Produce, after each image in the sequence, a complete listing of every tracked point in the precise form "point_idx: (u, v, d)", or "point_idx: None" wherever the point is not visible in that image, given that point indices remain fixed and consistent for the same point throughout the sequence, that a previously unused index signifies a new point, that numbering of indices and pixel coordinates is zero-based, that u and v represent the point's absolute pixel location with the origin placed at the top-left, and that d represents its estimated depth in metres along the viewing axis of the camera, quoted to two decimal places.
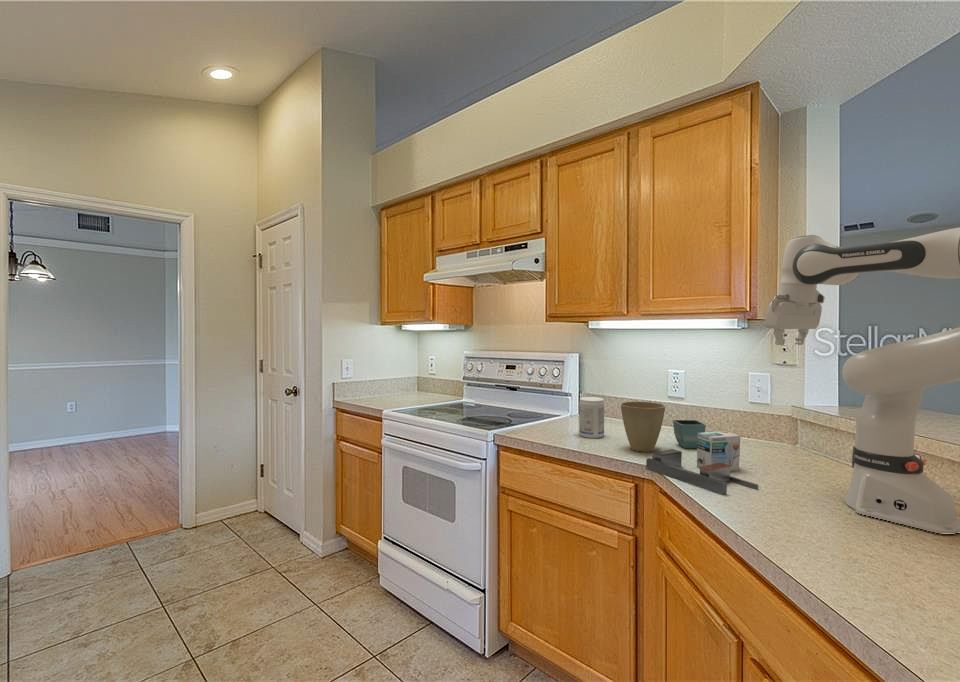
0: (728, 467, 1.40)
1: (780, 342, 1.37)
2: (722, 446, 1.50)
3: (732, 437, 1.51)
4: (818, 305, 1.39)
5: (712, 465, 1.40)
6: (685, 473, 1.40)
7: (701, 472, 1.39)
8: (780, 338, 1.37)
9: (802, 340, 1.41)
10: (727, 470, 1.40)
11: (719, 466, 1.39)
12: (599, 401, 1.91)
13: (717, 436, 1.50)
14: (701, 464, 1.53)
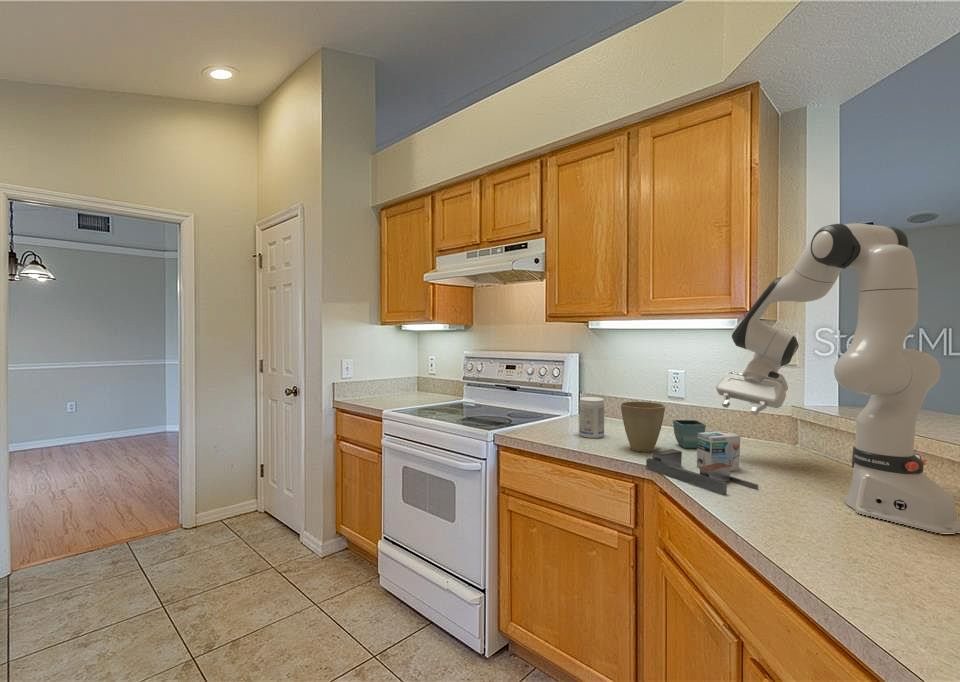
0: (728, 467, 1.40)
1: None
2: (722, 446, 1.50)
3: (732, 437, 1.51)
4: (773, 381, 1.55)
5: (712, 465, 1.40)
6: (685, 473, 1.40)
7: (701, 472, 1.39)
8: (724, 399, 1.63)
9: (754, 408, 1.54)
10: (727, 470, 1.40)
11: (719, 466, 1.39)
12: (599, 401, 1.91)
13: (717, 436, 1.50)
14: (701, 464, 1.53)
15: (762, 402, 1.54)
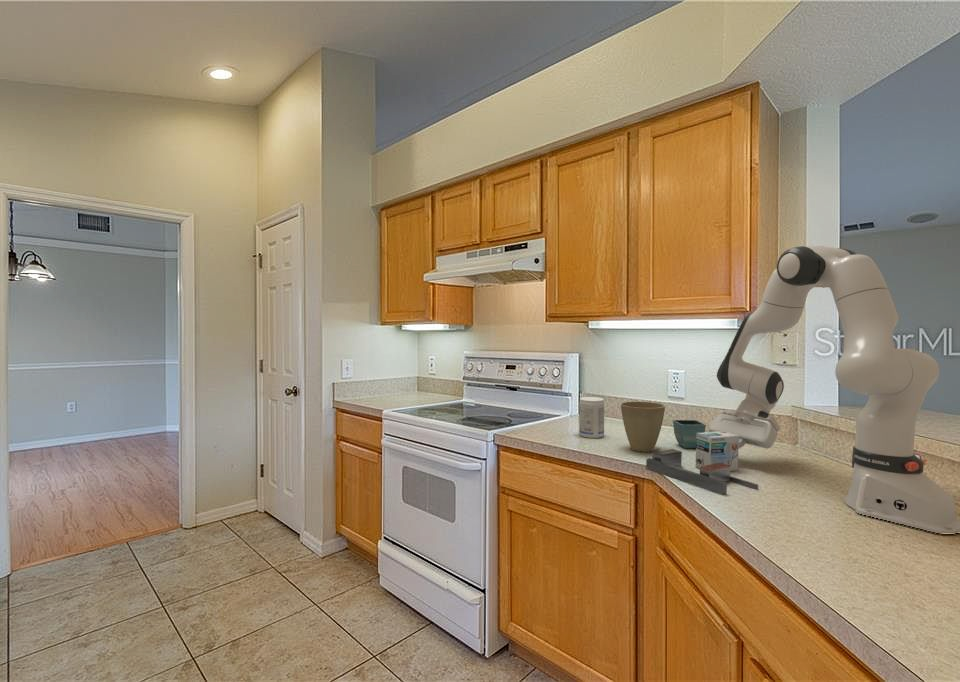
0: (728, 467, 1.40)
1: None
2: (721, 446, 1.49)
3: (731, 437, 1.51)
4: (763, 421, 1.53)
5: (712, 465, 1.40)
6: (685, 473, 1.40)
7: (701, 472, 1.39)
8: None
9: None
10: (727, 470, 1.40)
11: (719, 466, 1.39)
12: (599, 401, 1.91)
13: (716, 436, 1.50)
14: (700, 464, 1.53)
15: (740, 439, 1.55)
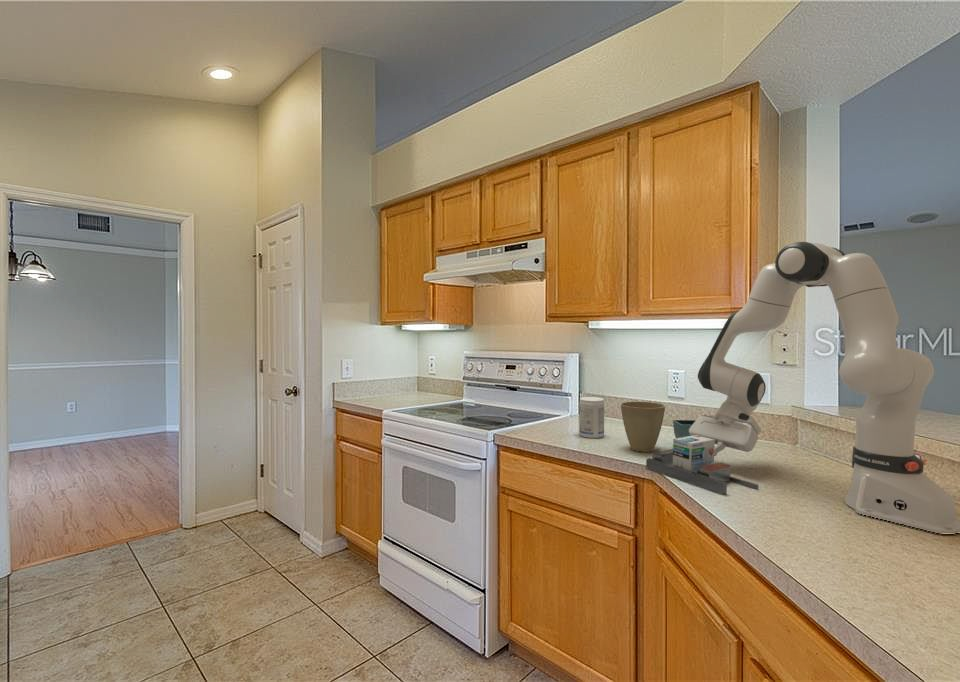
0: (728, 467, 1.40)
1: None
2: (700, 451, 1.43)
3: (708, 441, 1.45)
4: (743, 423, 1.48)
5: (712, 465, 1.40)
6: (685, 473, 1.40)
7: (701, 472, 1.39)
8: None
9: None
10: (727, 470, 1.40)
11: (719, 466, 1.39)
12: (599, 401, 1.91)
13: (695, 441, 1.43)
14: None
15: (720, 443, 1.51)
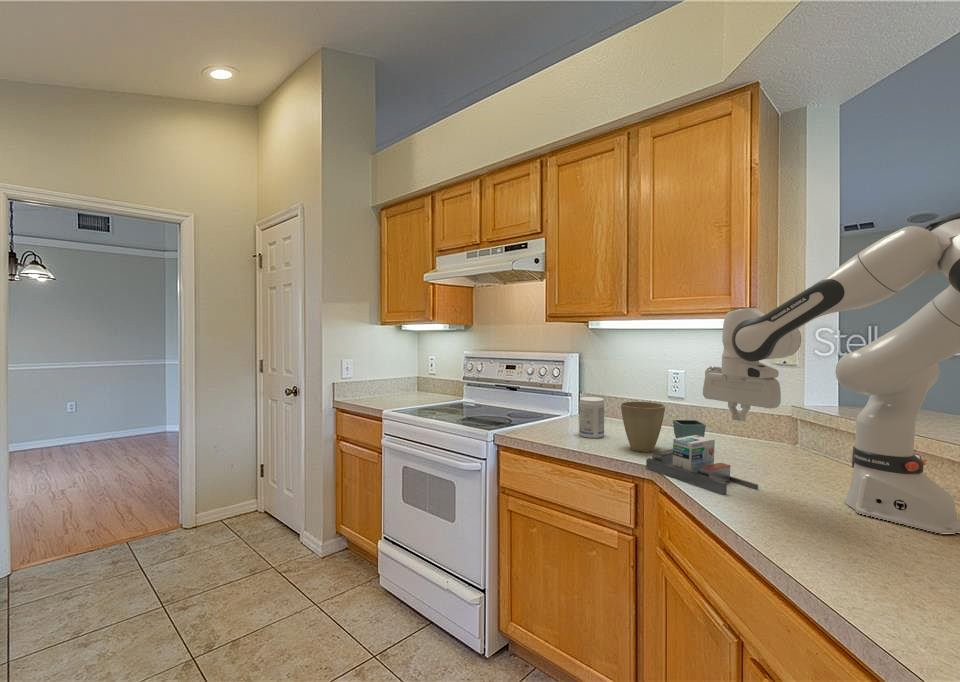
0: (728, 467, 1.40)
1: None
2: (700, 451, 1.43)
3: (708, 441, 1.45)
4: (757, 380, 1.26)
5: (712, 465, 1.40)
6: (685, 473, 1.40)
7: (701, 472, 1.39)
8: None
9: (738, 415, 1.32)
10: (727, 470, 1.40)
11: (719, 466, 1.39)
12: (599, 401, 1.91)
13: (695, 441, 1.43)
14: None
15: (743, 406, 1.31)
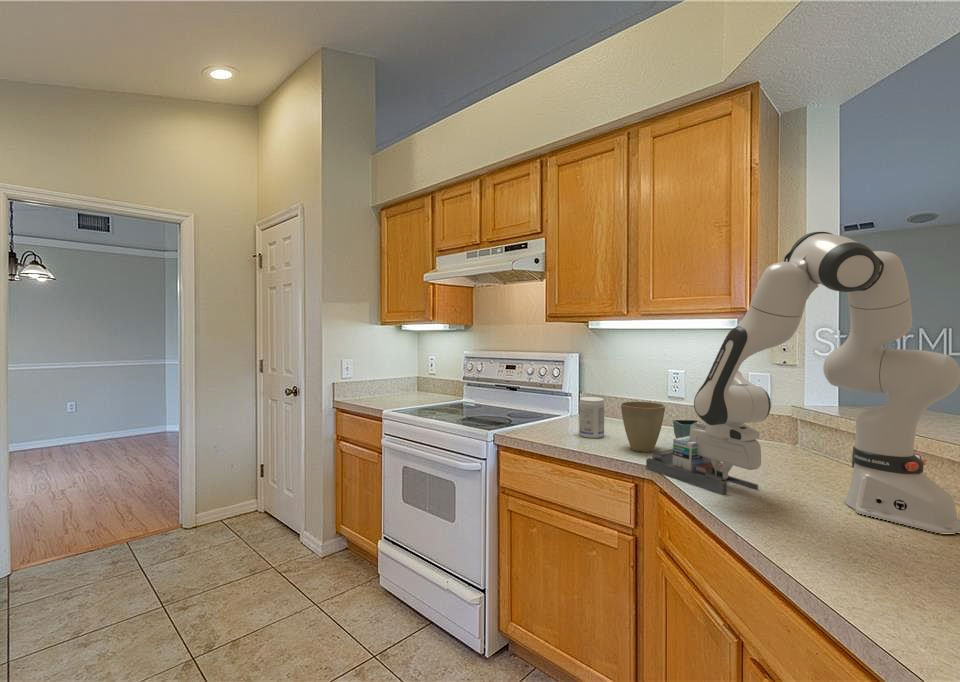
0: None
1: None
2: None
3: None
4: (738, 442, 1.30)
5: (708, 464, 1.41)
6: (685, 473, 1.40)
7: (697, 471, 1.40)
8: None
9: (721, 473, 1.37)
10: (723, 469, 1.41)
11: None
12: (599, 401, 1.91)
13: None
14: None
15: (725, 465, 1.36)
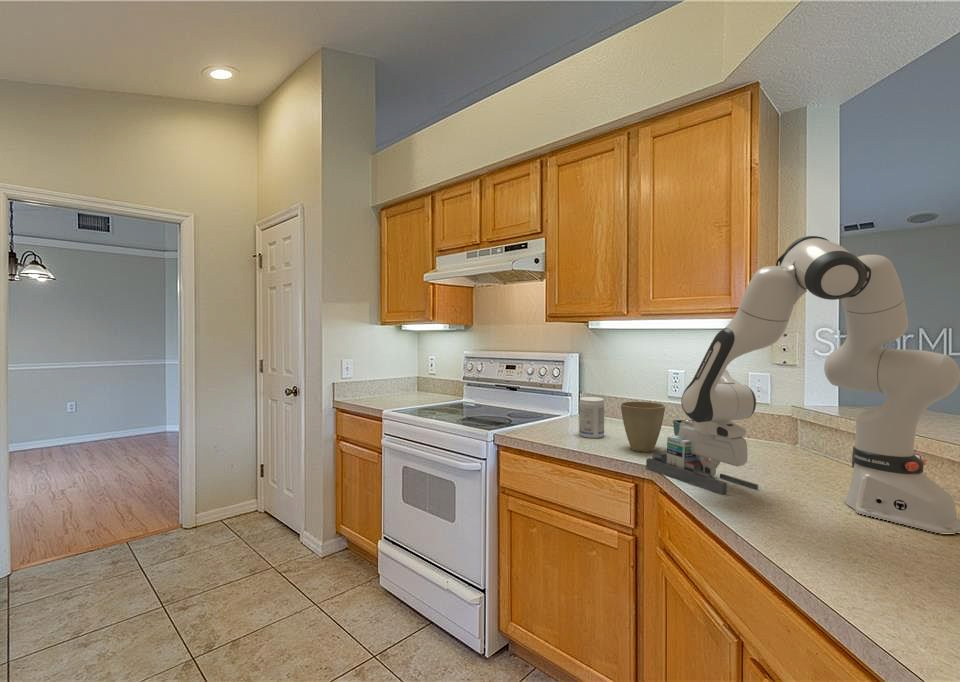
0: None
1: None
2: None
3: None
4: (725, 439, 1.34)
5: (697, 461, 1.45)
6: (685, 473, 1.40)
7: (686, 467, 1.43)
8: None
9: (708, 469, 1.40)
10: None
11: None
12: (599, 401, 1.91)
13: (688, 440, 1.45)
14: None
15: (713, 461, 1.39)
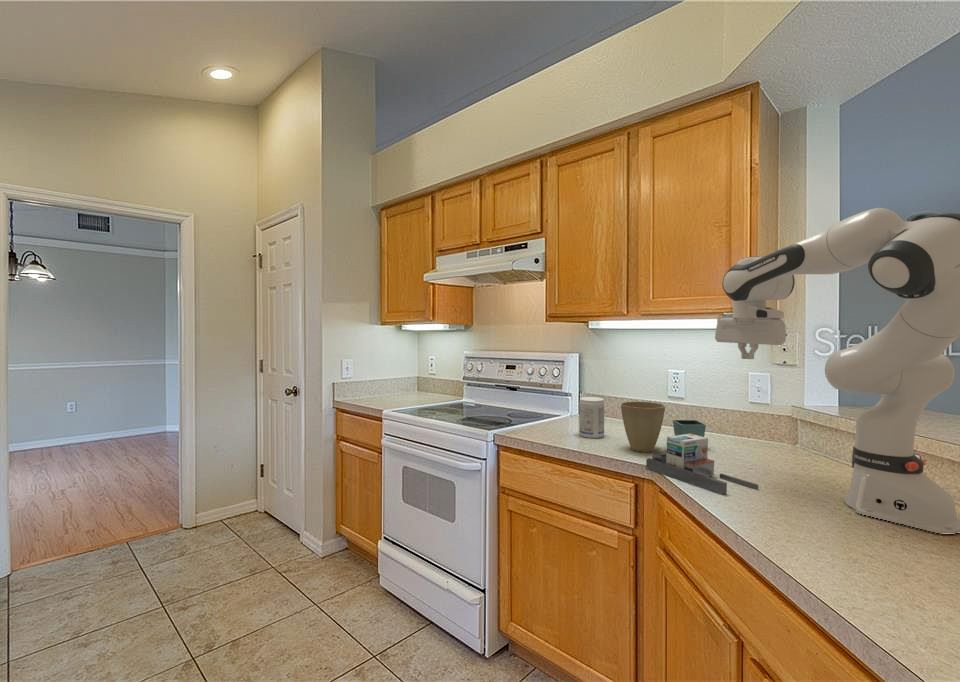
0: (712, 462, 1.45)
1: None
2: (693, 449, 1.45)
3: (701, 440, 1.47)
4: (765, 320, 1.41)
5: (696, 460, 1.45)
6: (685, 473, 1.40)
7: (685, 467, 1.43)
8: None
9: (747, 354, 1.48)
10: (711, 465, 1.45)
11: (703, 461, 1.44)
12: (599, 401, 1.91)
13: (688, 440, 1.45)
14: None
15: (752, 346, 1.46)
